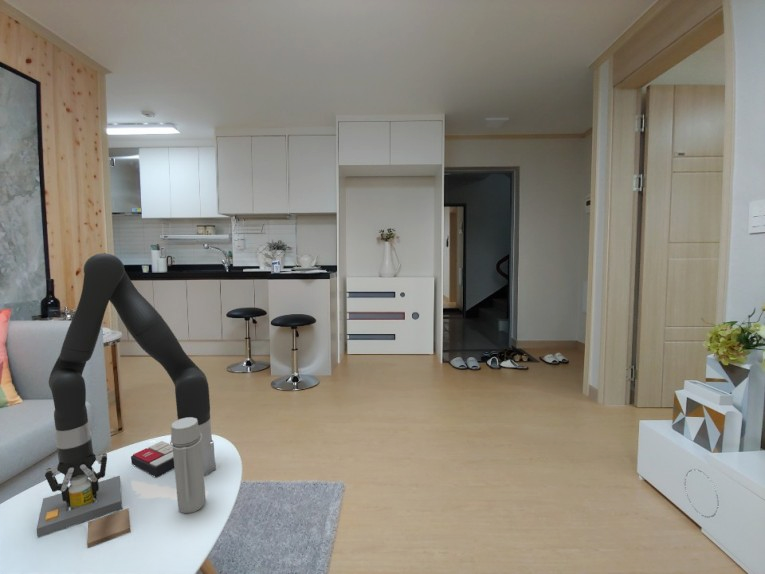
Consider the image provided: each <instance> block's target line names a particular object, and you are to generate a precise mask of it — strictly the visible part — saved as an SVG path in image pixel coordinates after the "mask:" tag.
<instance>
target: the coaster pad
mask: <svg viewBox="0 0 765 574" xmlns="http://www.w3.org/2000/svg"><path fill="white" fill-rule="evenodd" d="M129 510H130V509H129V508H128V507H127V508H124V509H121V510H118V511H115V512H112V513H109V514H106V515H103V516H100V517H97V518H94V519H91V520H88V521H87V533H86V535H87V538H86V546H87V549H89V548H92V547H94V546H97V545H99V544H103V543H104V542H108V541H110V540H113V539H116V538H118V537H121V536H123V535H126V534H128V533H131V532H132V531H131V521H130V511H129Z"/></svg>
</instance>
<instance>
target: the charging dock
mask: <svg viewBox="0 0 765 574" xmlns="http://www.w3.org/2000/svg"><path fill="white" fill-rule="evenodd" d="M120 476H121V475H117V476H113V477H111V478H107V479H104V480H101V481H98V484H99V490H98V491H96V494H94V499H95V498H96V501H94V502H93V503H90V504H87V505H84V506H81V507H78V508H75V509H72V510H71V509H70V507H71V506H70V502H68V503H66V501H63V499H62V492H60V493H58V494H53V495H51V496H47V497H44V498H42V503H41V507H40V512H39V517H38V520H37V524H36V534H37V538H40V537H45V536H47V535H49V534H52V533H55V532H59V531H62V530H65V529H68V528H71V527H73V526H77V525H79V524H82V523H85V522H89V521H92V520H95V519H98V518H101V517H104V516H107V515H109V514H112V513H115V512H118V511H121V510H123V503H122V501H123V500H122V486H121V485H122V484H121V478H120Z"/></svg>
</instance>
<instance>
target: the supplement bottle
mask: <svg viewBox="0 0 765 574" xmlns="http://www.w3.org/2000/svg"><path fill="white" fill-rule="evenodd" d="M69 484H70V485H68V487H69V488H68V493H69V500H70V506H69V507H70V510H72V509H75V508H78V507H81V506H84V505H87V504H90V503H93V502H95V498H94V494H93V490H92V480H91V479H90V478H89V477H88V476H87V475H86V474H84V475H78V476H76V477H73V478H70V481H69Z"/></svg>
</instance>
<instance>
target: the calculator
mask: <svg viewBox="0 0 765 574" xmlns="http://www.w3.org/2000/svg"><path fill="white" fill-rule="evenodd" d="M130 463H131V465H133V466H134V465H135V466H134V467H136V468H138V469H140V470H142V471H144V472H147V473H148V474H149V475H151V476H152V475H153V476H152V477H154V476H155V477H154V478H159V477H160V476H162V474H163V475H165V474H166V472H167V473H168V472H171V471H172V470H175V468H174V457H173V447H171V445H170V443H168V442H167V441H166V442H165V441H163V440H161V441H160V442H157V443H155V444H153V445H150V446H149V447H148V448H143V449H142V450H140V451H137V452H135V453H133V454H132V455H131V456H130Z"/></svg>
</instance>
